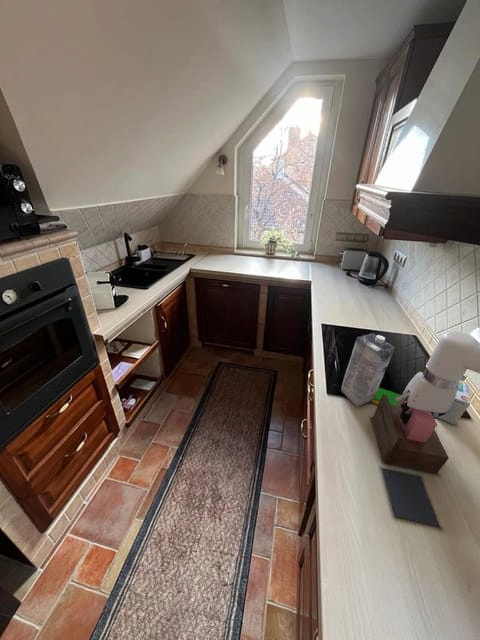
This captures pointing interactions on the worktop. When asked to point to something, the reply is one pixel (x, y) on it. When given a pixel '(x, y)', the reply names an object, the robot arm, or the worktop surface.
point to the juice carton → (366, 368)
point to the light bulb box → (458, 404)
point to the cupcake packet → (418, 425)
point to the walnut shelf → (405, 442)
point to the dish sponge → (389, 394)
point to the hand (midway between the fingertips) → (413, 421)
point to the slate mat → (409, 497)
